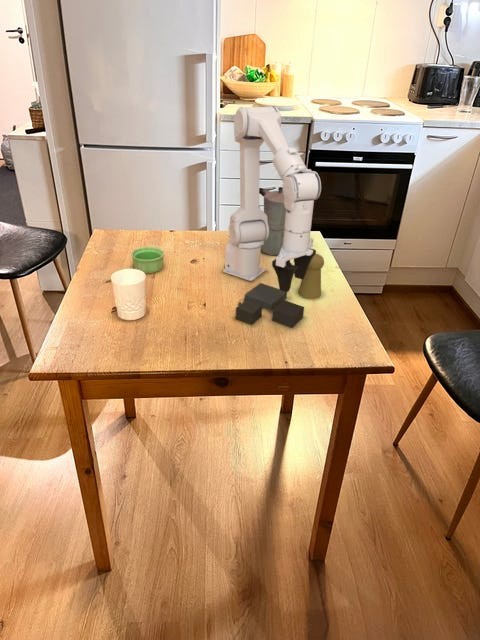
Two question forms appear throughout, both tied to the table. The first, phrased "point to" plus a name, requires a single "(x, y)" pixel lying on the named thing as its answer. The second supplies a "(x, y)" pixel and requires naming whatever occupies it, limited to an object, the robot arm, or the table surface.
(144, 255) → the ramekin
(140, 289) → the white cup
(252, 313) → the top pad
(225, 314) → the table surface
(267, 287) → the base pad
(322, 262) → the olive game pawn
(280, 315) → the middle pad
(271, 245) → the moka pot
